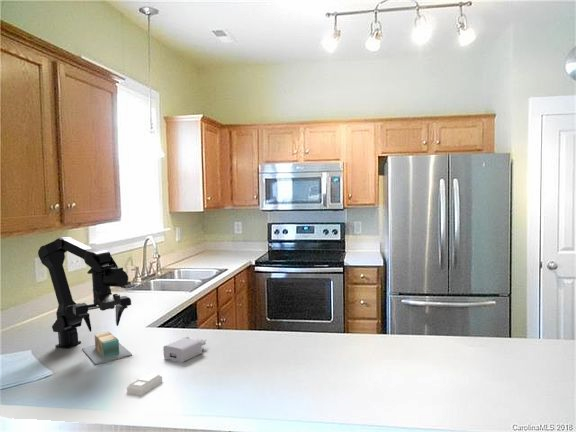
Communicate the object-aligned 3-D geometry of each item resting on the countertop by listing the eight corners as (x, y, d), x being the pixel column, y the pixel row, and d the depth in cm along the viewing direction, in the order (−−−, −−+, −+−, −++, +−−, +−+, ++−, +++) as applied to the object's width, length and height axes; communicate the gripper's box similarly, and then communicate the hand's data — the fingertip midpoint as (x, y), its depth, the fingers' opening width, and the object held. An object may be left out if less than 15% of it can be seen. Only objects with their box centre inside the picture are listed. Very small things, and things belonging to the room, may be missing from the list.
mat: (82, 349, 155) (82, 347, 155) (116, 341, 162) (116, 340, 162) (95, 364, 139) (95, 363, 139) (132, 355, 146) (132, 354, 146)
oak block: (94, 334, 154) (103, 343, 143) (108, 331, 157) (118, 339, 146) (95, 347, 154) (104, 357, 144) (109, 344, 157) (119, 353, 147)
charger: (214, 348, 150) (183, 363, 137) (195, 344, 155) (163, 358, 142) (213, 335, 150) (182, 349, 137) (194, 332, 155) (163, 345, 142)
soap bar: (162, 382, 124) (161, 373, 124) (141, 396, 115) (140, 387, 115) (149, 380, 126) (148, 371, 125) (127, 394, 117) (126, 384, 117)
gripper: (77, 293, 139) (80, 340, 140) (134, 284, 151) (137, 327, 151) (71, 288, 148) (74, 332, 149) (125, 280, 159) (127, 321, 160)
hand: (104, 328), depth 152 cm, fingers open, 9 cm apart
